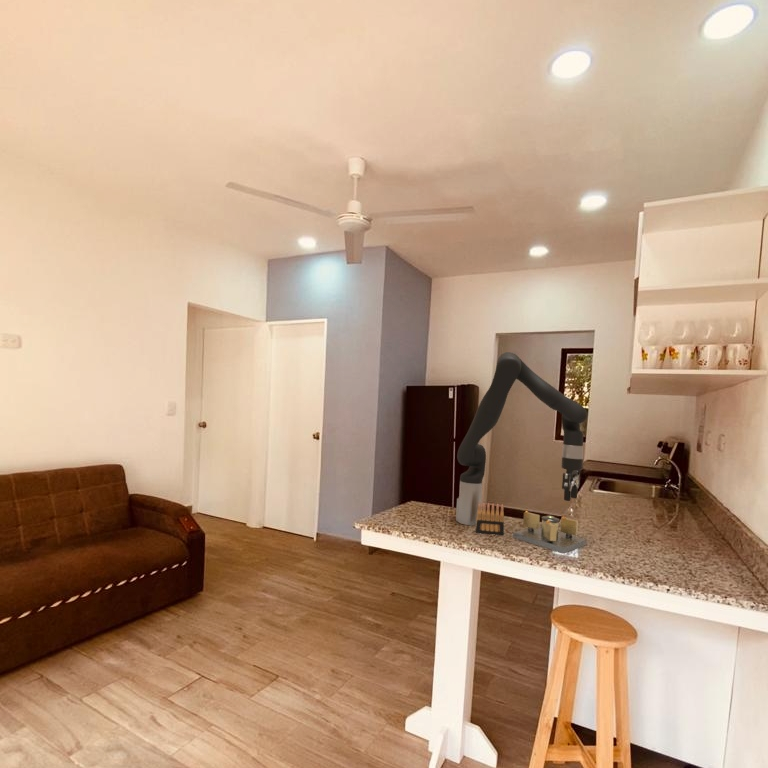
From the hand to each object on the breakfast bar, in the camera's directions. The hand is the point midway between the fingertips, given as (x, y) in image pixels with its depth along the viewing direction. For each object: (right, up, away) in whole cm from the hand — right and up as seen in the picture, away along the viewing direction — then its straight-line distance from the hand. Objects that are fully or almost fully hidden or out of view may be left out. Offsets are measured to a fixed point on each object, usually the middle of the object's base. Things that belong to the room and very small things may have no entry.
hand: (570, 499), depth 168 cm
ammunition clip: (-30, -15, +3) cm, 34 cm away
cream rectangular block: (-1, -14, 0) cm, 14 cm away
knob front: (-12, -13, -9) cm, 20 cm away
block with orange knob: (-14, -13, +5) cm, 20 cm away
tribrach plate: (-9, -16, -2) cm, 18 cm away
